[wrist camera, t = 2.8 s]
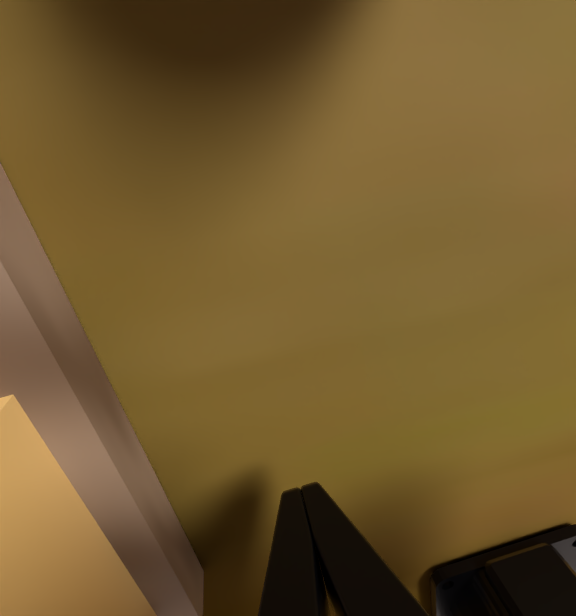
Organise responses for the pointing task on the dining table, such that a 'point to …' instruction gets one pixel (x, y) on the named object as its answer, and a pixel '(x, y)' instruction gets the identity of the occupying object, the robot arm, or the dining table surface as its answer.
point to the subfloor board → (86, 419)
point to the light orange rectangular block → (52, 536)
